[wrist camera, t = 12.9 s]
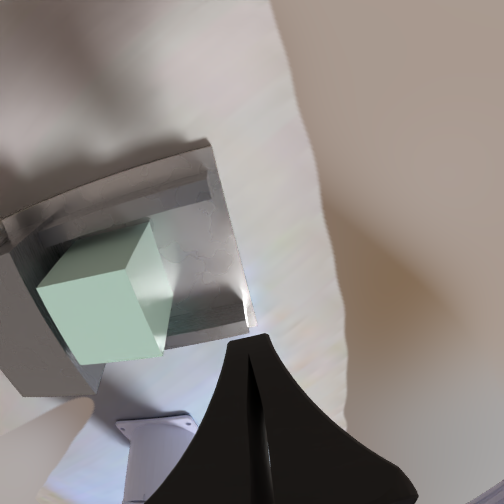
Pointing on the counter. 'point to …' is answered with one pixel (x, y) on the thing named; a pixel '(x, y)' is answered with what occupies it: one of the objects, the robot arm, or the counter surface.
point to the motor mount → (105, 220)
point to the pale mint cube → (110, 296)
